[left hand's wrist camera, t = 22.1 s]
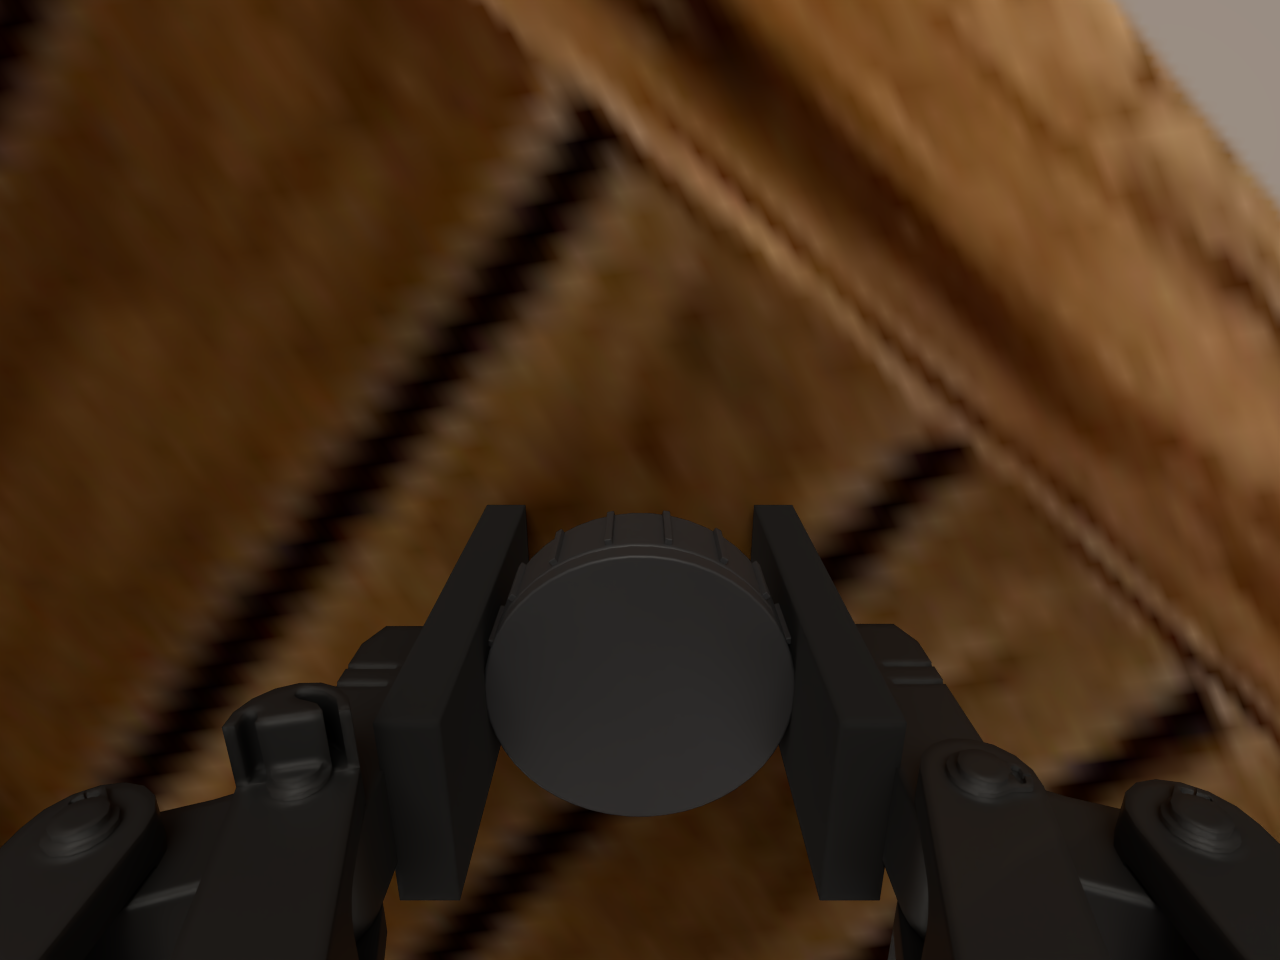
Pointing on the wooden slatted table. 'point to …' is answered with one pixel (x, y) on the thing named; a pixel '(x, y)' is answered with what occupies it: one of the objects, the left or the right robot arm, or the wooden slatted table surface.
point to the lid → (639, 666)
